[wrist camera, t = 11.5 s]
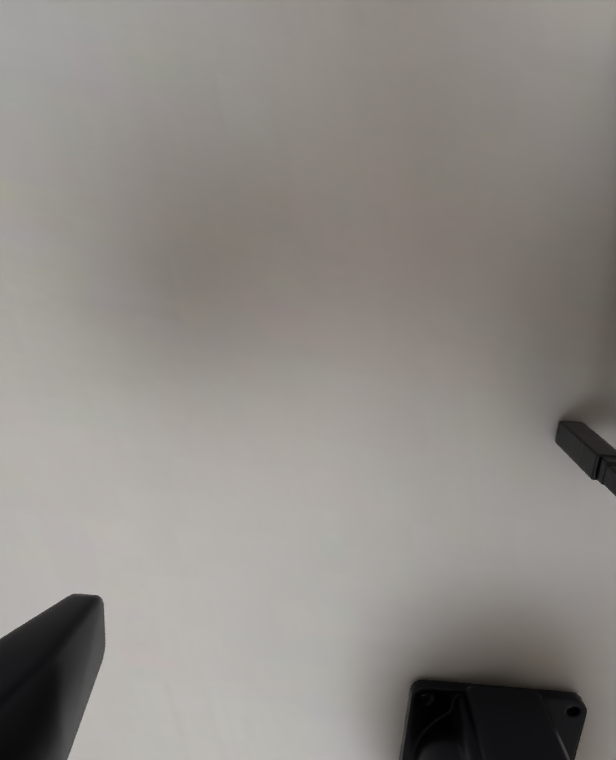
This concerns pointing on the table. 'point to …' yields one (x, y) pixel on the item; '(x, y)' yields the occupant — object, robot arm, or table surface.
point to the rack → (588, 452)
